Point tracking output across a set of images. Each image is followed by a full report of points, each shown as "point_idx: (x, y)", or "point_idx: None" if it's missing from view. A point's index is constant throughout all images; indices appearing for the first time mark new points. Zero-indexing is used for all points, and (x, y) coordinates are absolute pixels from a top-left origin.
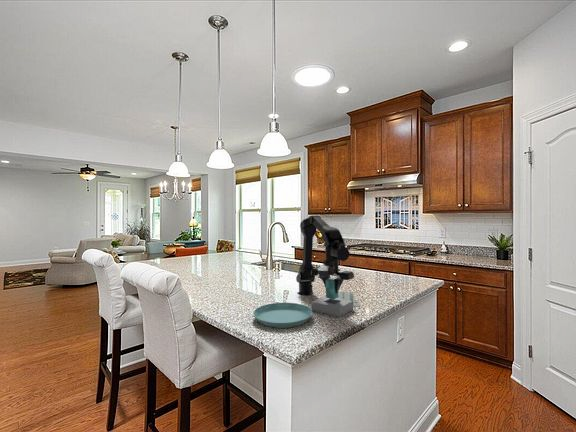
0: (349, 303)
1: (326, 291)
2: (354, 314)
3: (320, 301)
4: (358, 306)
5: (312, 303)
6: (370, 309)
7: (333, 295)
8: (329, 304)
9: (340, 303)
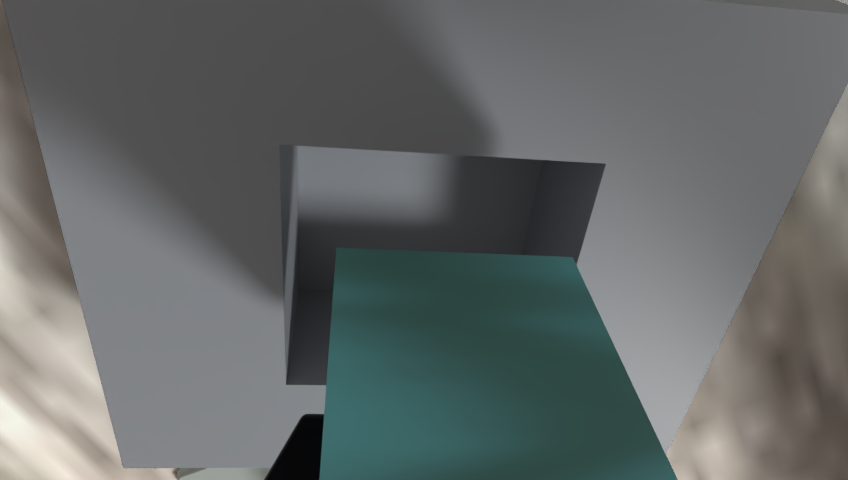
0: (101, 355)
1: (605, 377)
2: (11, 201)
3: (667, 151)
4: (189, 472)
5: (831, 6)
6: (4, 461)
7: (342, 311)
8: (380, 53)
9: (207, 247)
